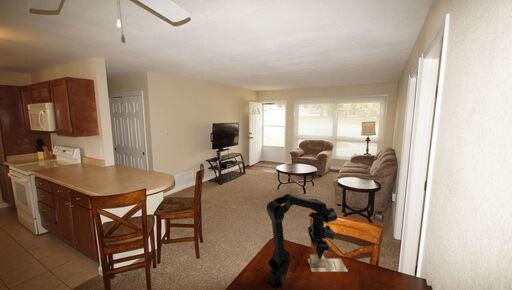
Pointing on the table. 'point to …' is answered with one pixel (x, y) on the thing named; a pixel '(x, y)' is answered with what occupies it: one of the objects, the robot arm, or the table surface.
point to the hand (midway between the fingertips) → (317, 253)
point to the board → (330, 266)
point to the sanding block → (317, 261)
